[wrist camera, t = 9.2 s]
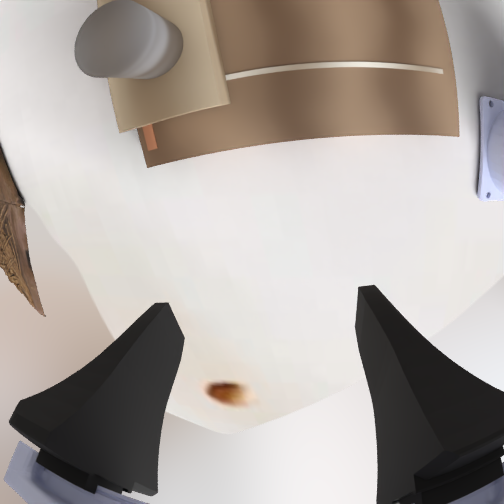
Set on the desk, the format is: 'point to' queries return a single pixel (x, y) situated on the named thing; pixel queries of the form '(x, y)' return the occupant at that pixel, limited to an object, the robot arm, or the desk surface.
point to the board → (319, 76)
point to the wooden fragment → (15, 239)
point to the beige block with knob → (154, 58)
